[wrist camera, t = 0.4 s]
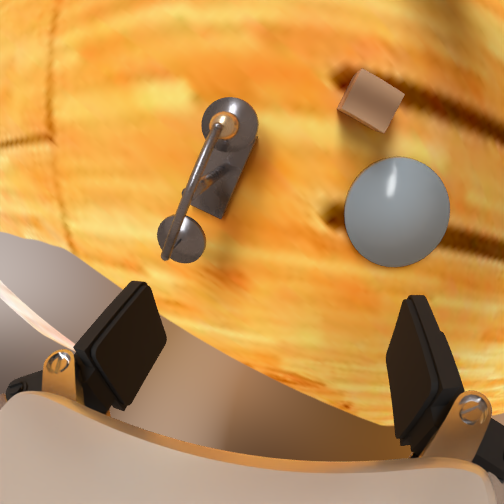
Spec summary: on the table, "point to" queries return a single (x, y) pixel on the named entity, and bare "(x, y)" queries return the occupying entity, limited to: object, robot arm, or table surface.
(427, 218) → the dish
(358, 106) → the walnut block
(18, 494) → the robot arm
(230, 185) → the balance
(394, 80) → the table surface
